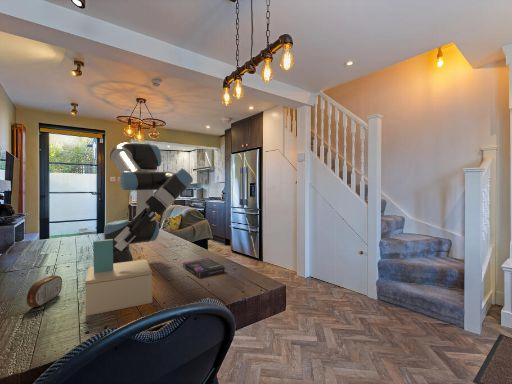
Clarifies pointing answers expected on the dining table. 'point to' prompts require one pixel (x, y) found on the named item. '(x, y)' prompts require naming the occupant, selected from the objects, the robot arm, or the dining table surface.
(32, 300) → the tin
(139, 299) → the carton
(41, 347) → the dining table surface
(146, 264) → the flap
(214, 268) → the box
